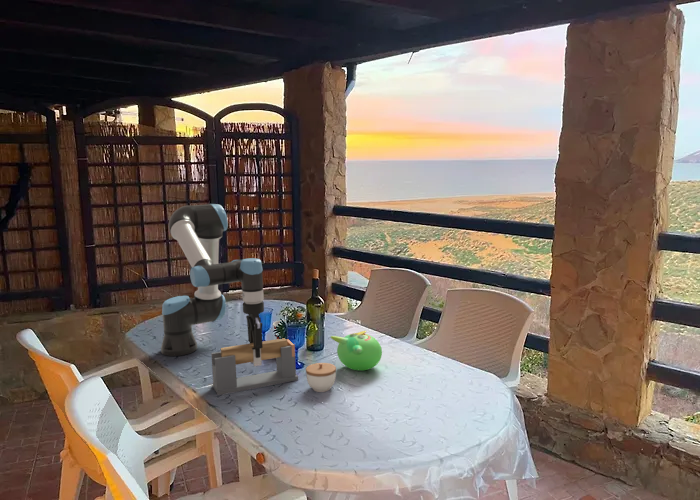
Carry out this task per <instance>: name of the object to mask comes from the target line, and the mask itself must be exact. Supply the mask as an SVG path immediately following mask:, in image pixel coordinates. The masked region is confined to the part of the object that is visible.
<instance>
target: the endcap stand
mask: <svg viewBox="0 0 700 500" xmlns="http://www.w3.org/2000/svg"><path fill="white" fill-rule="evenodd" d="M287 345H288V346H286V347H280V350H281V357H277V358H275V359H276V362H275V363H276V370H275V371H269V372H262V373H257V374H252V375H245V376H240V377H237V365H236V361H235V355H231V356H225V357H221V351H214V352H211V353H210V355H211V368H212V387H213V389H214V391H215V392H216V394H217V396H223V395H226V394H227V395H228V394H232V393H237V392H238V393H239V392H243V391H248V390H253V389H260V388H263V387H270V386H275V385H280V384H284V383H291V382H295V381H298V380H299V376H298V375H297V368H296V367H297V365H296V363H297V362H296V346H295V345H296V344H295V343H294V344H293V343H292V342H291V341H290V340H289V339H287Z"/></svg>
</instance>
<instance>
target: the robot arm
mask: <svg viewBox="0 0 700 500" xmlns="http://www.w3.org/2000/svg"><path fill="white" fill-rule="evenodd" d="M228 222H229V221H228V216H227V213H226V211H225V208H223V206H222V205H221V204H218V203H217V204H216V203H206V204H195V205H192V204H191V205H183V206H181V207H178V208H177V209H176V210H174V212H173V213H172V214H171V216H170V217H169V221H168V230H169V233H170V236H171V237H172V239H174V240H176V241H177V243H178V245H179V246H180V248H181V250H182V251H183V254H184V256H185V258H186V260H187V261H188V263H189V265H190V267H191V269H190V271H189V272H190V273H189V276H190V281H191V284H192V286H193V287H195V288H197V290H195V291H194V297H192V298H190V297H189V295H178V296H174V297H170V298H168V299H166V300H164V302H163V303H162V305H161V307H162V308H161V310H162V311H161V315H162V324H163V337H162V338H163V339H162V342H161V347H160V350H161V351H160V352H161V354H162V355H164V356H167V357H168V356H169V357H177V356H184V355H189V354H192V353H194V352H196V351H197V350H198V343H197V340H196V338H195V336H194V333H193V329H192V327H193V326H195V325H199V324H206V323H214V322H216V321H217V322H218V321H221V320H222V319H223V318H224V316H225V315H226V312H227V311H226V310H227V304H226V298H225V296H224V295H223V294H222V292H221V291H220V290H219V285H223V284H233V283H238V282H240V283H241V292H242V293H240V297H242V302H243V303H242V313H244V314H246V316H245V317H246V324H247V325H246V326H247V338H248V340H247V341H248V343H249V344H250V343H253V345H254V348H252V350H253V361H254V362H250V363H251V364H253V367H257V366H262V360H261V348H262V347H263V346H262V342H263V322H262V320H261V319H262V318H261V317H260V314H262V313H264V311H265V304H264V301H265V299H264V281H263V279H264V278H263V271H264V270H263V265H262V263H263V262H262V260H261V259H260V258H255V257H251V258H249V257H248V258H243V259H233V260H232V261H230V262H222V263H221V262H220V263H219V246H220V245H219V243H220V240H221V238H223V232H225V231H227V230H228V227H229V223H228Z"/></svg>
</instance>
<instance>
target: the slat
mask: <svg viewBox="0 0 700 500" xmlns="http://www.w3.org/2000/svg"><path fill="white" fill-rule="evenodd" d="M262 346H263V347H262V348H261V361H264V360H270V359H276V358H277V357H281V350H280V347H286V346H288V345H287V339H285V338H282V339H277V338H276V339H271V340H262ZM252 348H254V345H253V343H250V342H249V343H244V344H239V345H237V344H236V345H232V346H226V347H221V348H220V352H221V357H225V356H231V355H235V361H236V366H237V365H242V364H247V363H251V362H254V361H253V350H252Z"/></svg>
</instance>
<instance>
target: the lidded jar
mask: <svg viewBox="0 0 700 500" xmlns="http://www.w3.org/2000/svg"><path fill="white" fill-rule="evenodd" d="M305 374H306V380H307V385H309V387H310V388H311V389H312V390H313V391H314V392H317V393H326V392H328V391H330V390H331V388H332V387H333V386H334V385H335V381H336V378H337V377H336V376H337V366H336V365H335V364H333V363H330V362H317V363H316V362H315V363H312V364H309V365H308V366H307V367H306V368H305Z"/></svg>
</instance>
